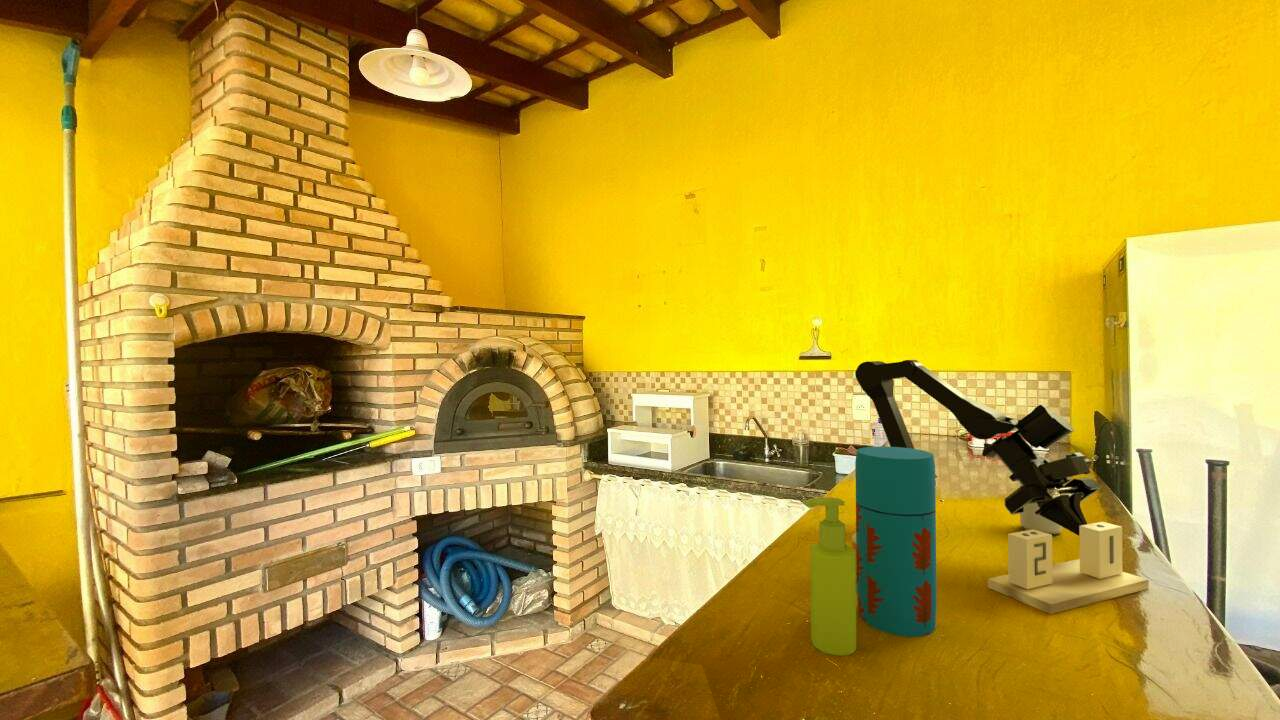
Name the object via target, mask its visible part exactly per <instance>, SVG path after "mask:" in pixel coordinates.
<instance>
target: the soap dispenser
mask: <svg viewBox="0 0 1280 720" xmlns="http://www.w3.org/2000/svg"><path fill="white" fill-rule="evenodd" d="M801 504H803V505H804V506H805V507H807V508H808V509H811V508H815V507H821V506H822V507H823V506H825V509H824V510H825V518H824V519H823V520H821V521H819V523H818V525H819V526H818V529H819V530H818V535H819V536H818V537H819V540H818V541H819V542H815V543H812V544H811V545H810V546H809V562H810V563H809V567H810V571H809V572H810V573H809V574H810V575H809V576H810V581H809V582H810V641H811V644H812V646H813V647H814V648H816V649H817V650H819V651H820V652H822V653H825V654H827V653H828V655H832V656H849V655H852V654H854V653H855V652H856V650H857V578H856V555H855V550H854V549H853V548H852V546H849V545H847V544H846V523H844V522H843V521H841V520H840V519H839V517H840V515H839V507H845V501H844V500H843V499H841V498H839V497H825V496H823V497H821V496H820V497H813V498H809V499H805V500H802V501H801Z"/></svg>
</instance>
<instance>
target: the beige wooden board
mask: <svg viewBox="0 0 1280 720" xmlns="http://www.w3.org/2000/svg"><path fill="white" fill-rule="evenodd" d="M1052 581H1053V583H1052V584H1048V585H1043V586H1039V587H1035V588H1031V589H1025V588H1023V587H1020V586H1018V585H1015V584H1013V583H1010V582H1009V573H1008V574H1003V575H999V576H994V577H990V578H987V588H989V589H991V590H993V591H996V592H998V593H1000V594H1003V595H1005V596H1007V597H1010V598H1012V599H1014V600H1016V601H1019V602H1021V603H1023V604H1026V605H1029V606H1030V607H1033V608H1036V609H1038V610H1040V611H1042V612H1045V613H1046V614H1050V615H1053V614H1056V613H1057V614H1058V613H1060V612H1061V613H1062V612H1064V611H1069V610H1072V609H1076V608H1079V607H1083V606H1087V605H1092V604H1095V603H1099V602H1104V601H1107V600H1110V599H1114V598H1119V597H1122V596H1125V595H1126V596H1127V595H1129V594H1133V593H1137V592H1141V591H1145V590H1149V586H1150V585H1149V584H1150V582H1149V579H1147V578H1144V577H1141V576H1137V575H1136V574H1131V573H1128V572H1125V571H1123V573H1122V574H1118V575H1114V576H1110V577H1106V578H1101V579H1099V578H1096V577H1093V576H1090V575H1087V574H1084V573H1081V572H1080V558H1077V559H1073V560H1068V561H1064V562H1059V563H1054V564H1052Z"/></svg>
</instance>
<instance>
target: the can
mask: <svg viewBox="0 0 1280 720" xmlns="http://www.w3.org/2000/svg"><path fill="white" fill-rule="evenodd" d="M1021 486H1022V485H1021V484H1020V483H1019V487H1021ZM1037 505H1038V504H1037V503H1030V504H1027V505H1025V506H1024V507H1023V509H1024V512H1022V513H1020V514H1019V515H1020V516H1019V524H1020V525H1021V526H1022V527H1023V528H1024V530H1026V529H1027V530H1032V529H1034V530H1037V531H1041V532H1044V533H1048V534H1054V535H1057V534H1058V533H1060V532H1062V531H1063V527H1062V526H1060V525H1058V524H1056V523H1055V522H1053V521H1051V520H1049V519H1047V518H1045V517H1043V516H1041V515H1036V514H1035V512H1036V511H1037V510H1039V509H1040V508H1039V507H1038V506H1037Z"/></svg>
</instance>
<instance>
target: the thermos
mask: <svg viewBox="0 0 1280 720" xmlns="http://www.w3.org/2000/svg"><path fill="white" fill-rule="evenodd" d="M854 463H855V464H854V465H855V466H854V467H855V470H854V471H855V528H856V529H855V533H856V560H857V578H856V599H857V610H858V611H857V612H858V615H859V617H860V619H861V620H862V621H863V622H865V624H867V625H868V626H869V627H872V628H874V629H877V630H878V631H881V632H884V633H887V634H892V635H895V636H901V637H908V638H909V637H910V638H911V637H922V636H923V635H924V636H927V635H930V634H932V633H933V632H934V631H935V630H936V621H937V603H938V602H937V601H938V600H937V597H938V596H937V515H936V513H937V512H936V509H937V508H936V501H937V500H936V497H937V496H936V486H935V481H936V478H935V474H936V463H935V456H934V453H932V452H929V451H927V450H923V449H917V448H915V449H911V448H902V447H890V446H868V447H867V446H866V447H861V448H858V449H857V450H856V455H855V462H854ZM926 634H927V635H926Z"/></svg>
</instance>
